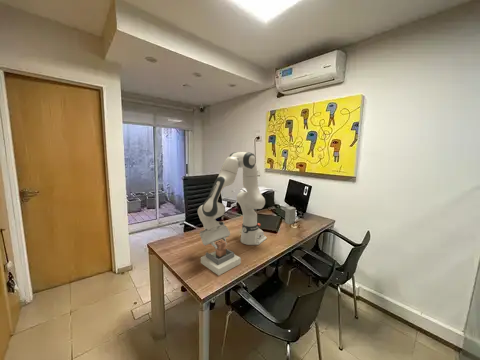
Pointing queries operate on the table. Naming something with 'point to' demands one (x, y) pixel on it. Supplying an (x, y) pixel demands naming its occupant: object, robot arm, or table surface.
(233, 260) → the bay dock
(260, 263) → the table surface
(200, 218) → the robot arm
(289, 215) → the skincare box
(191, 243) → the table surface
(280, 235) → the table surface
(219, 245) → the block
